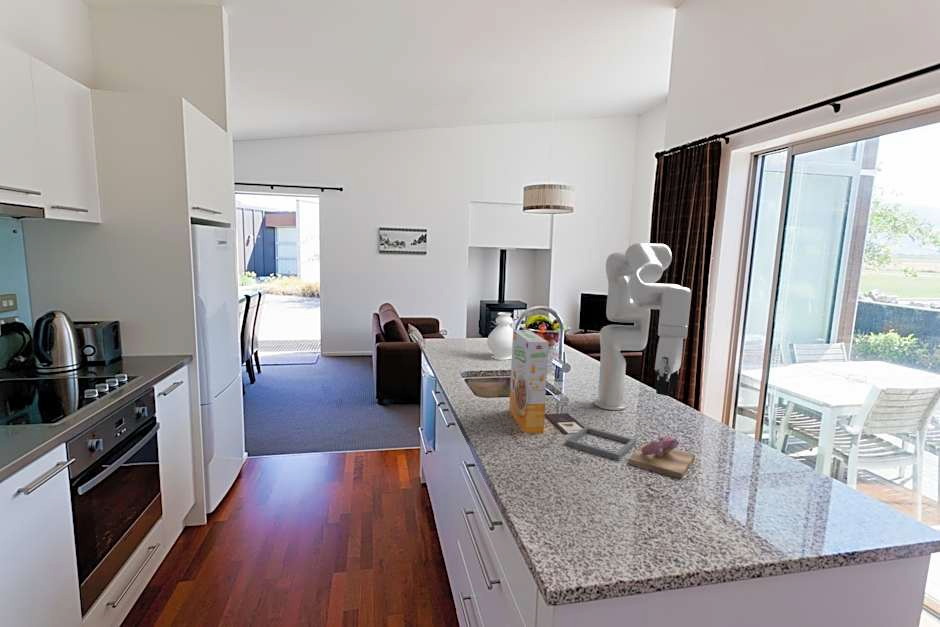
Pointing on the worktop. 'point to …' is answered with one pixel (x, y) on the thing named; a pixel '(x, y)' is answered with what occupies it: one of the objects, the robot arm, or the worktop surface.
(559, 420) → the chocolate bar
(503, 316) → the decorative vase
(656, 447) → the video game controller
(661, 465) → the walnut board
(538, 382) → the cereal box
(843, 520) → the worktop surface
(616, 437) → the frame
